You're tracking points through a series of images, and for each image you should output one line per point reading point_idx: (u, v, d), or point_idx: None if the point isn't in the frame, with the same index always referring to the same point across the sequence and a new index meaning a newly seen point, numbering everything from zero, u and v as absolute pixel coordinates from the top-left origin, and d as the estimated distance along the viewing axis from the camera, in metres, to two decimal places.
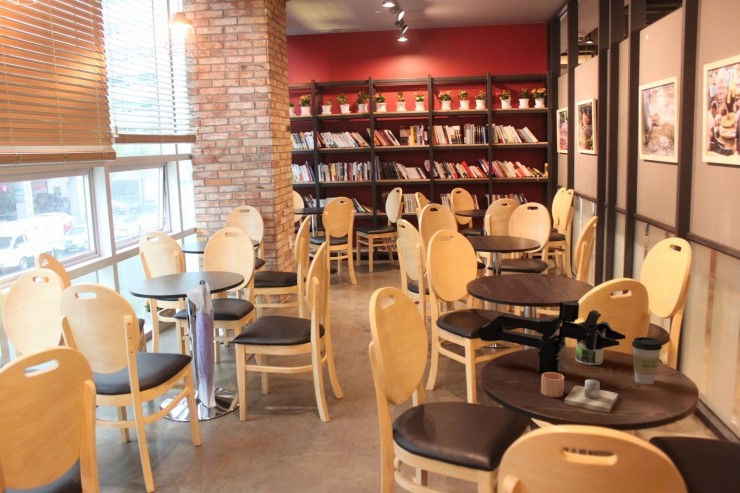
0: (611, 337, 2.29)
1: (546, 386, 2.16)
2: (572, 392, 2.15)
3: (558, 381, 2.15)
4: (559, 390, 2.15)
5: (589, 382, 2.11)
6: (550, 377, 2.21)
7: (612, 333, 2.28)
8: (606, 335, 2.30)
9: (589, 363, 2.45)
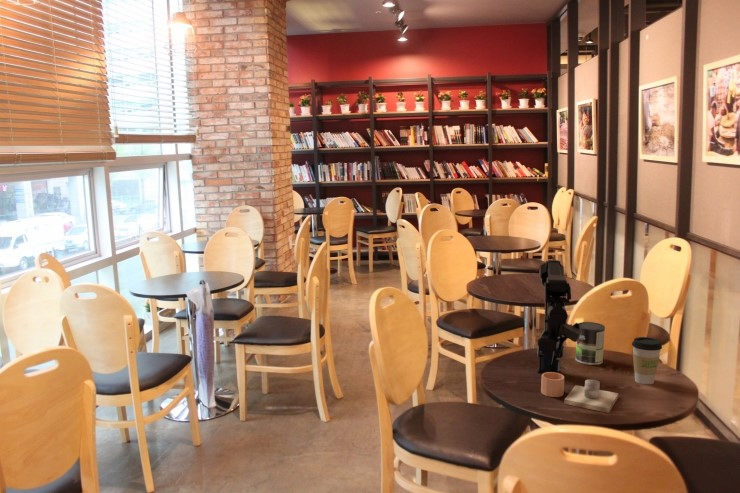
0: None
1: (546, 386, 2.16)
2: (572, 392, 2.15)
3: (558, 381, 2.15)
4: (559, 390, 2.15)
5: (589, 382, 2.11)
6: (550, 377, 2.21)
7: (559, 344, 2.20)
8: None
9: (589, 363, 2.45)
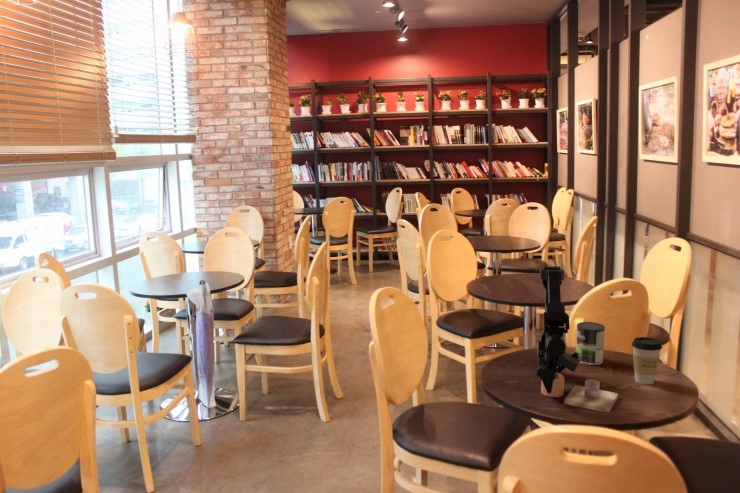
0: None
1: None
2: (572, 392, 2.15)
3: (558, 381, 2.15)
4: (559, 390, 2.15)
5: (589, 382, 2.11)
6: None
7: None
8: None
9: (589, 363, 2.45)
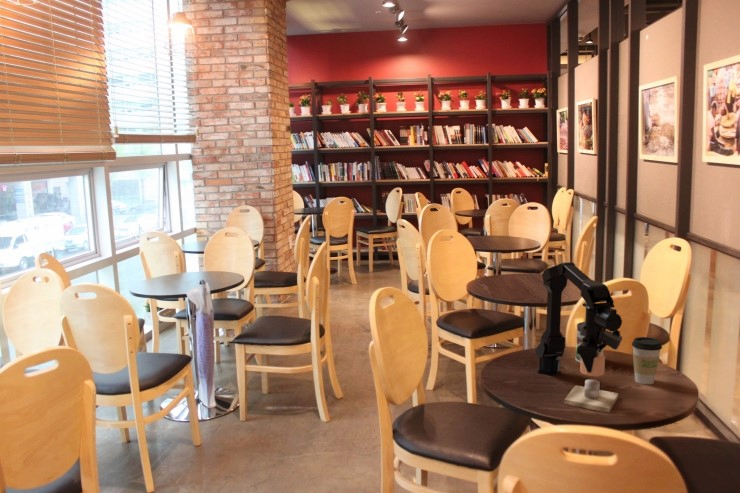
0: None
1: None
2: (572, 392, 2.15)
3: (599, 359, 2.06)
4: (600, 369, 2.07)
5: (589, 382, 2.11)
6: None
7: None
8: None
9: None
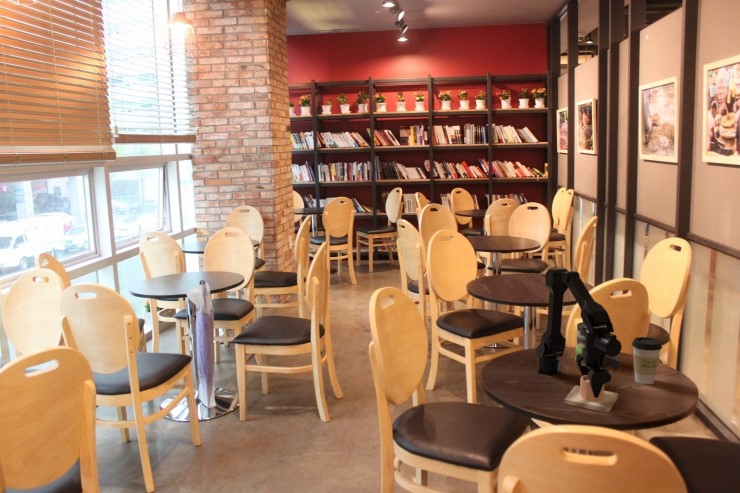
0: (584, 373, 2.16)
1: None
2: (572, 392, 2.15)
3: None
4: (602, 392, 2.09)
5: None
6: (584, 380, 2.14)
7: (589, 373, 2.16)
8: (585, 367, 2.16)
9: None
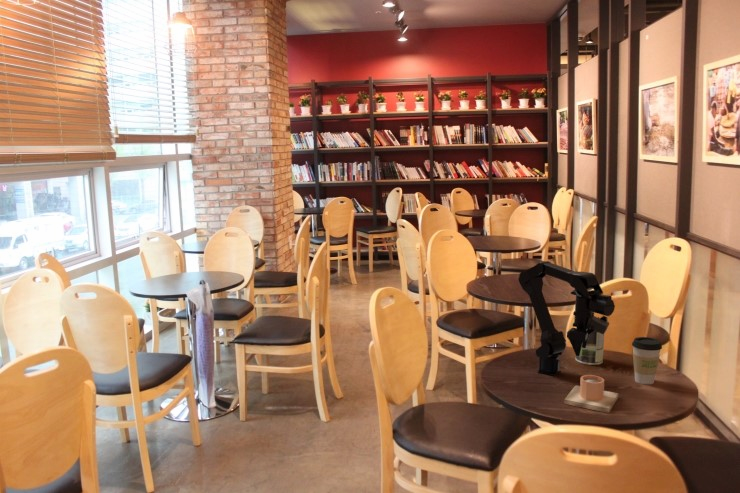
0: None
1: (592, 390, 2.08)
2: (572, 392, 2.15)
3: (602, 383, 2.08)
4: (602, 392, 2.09)
5: None
6: (584, 380, 2.14)
7: None
8: None
9: (589, 363, 2.45)
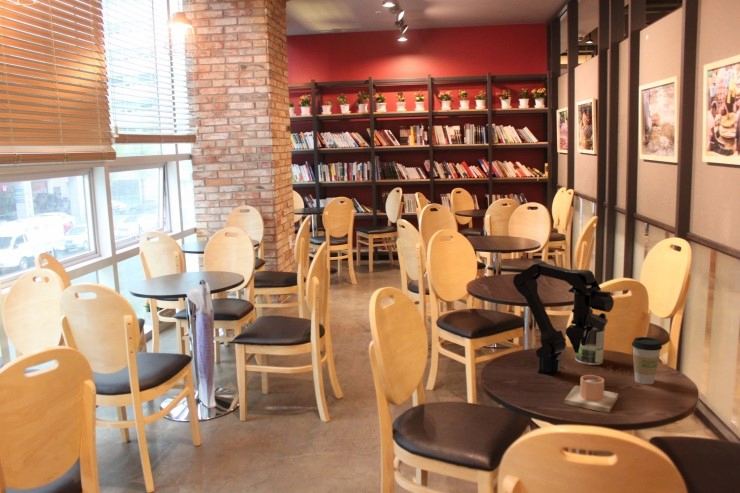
0: None
1: (592, 390, 2.08)
2: (572, 392, 2.15)
3: (602, 383, 2.08)
4: (602, 392, 2.09)
5: None
6: (584, 380, 2.14)
7: None
8: None
9: (589, 363, 2.45)
